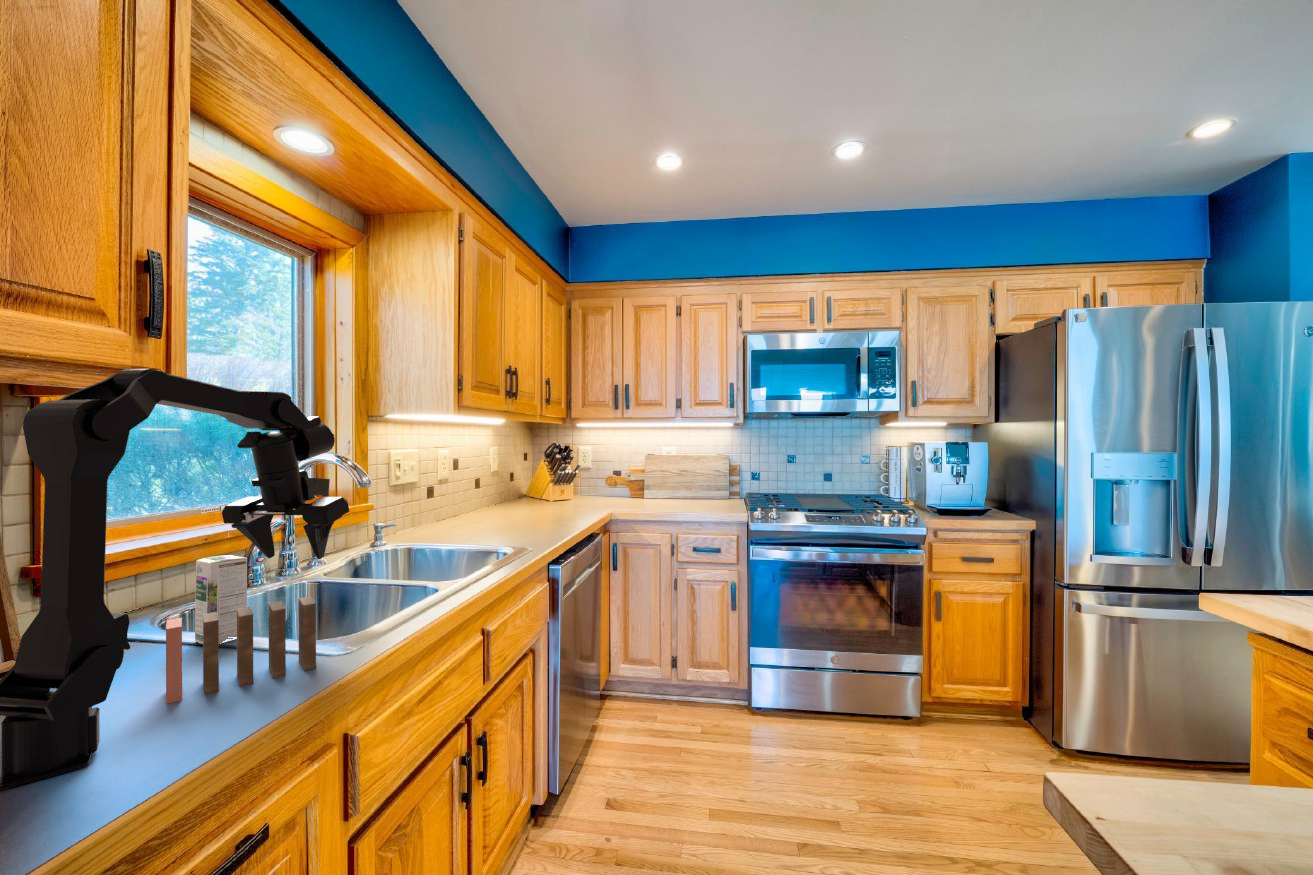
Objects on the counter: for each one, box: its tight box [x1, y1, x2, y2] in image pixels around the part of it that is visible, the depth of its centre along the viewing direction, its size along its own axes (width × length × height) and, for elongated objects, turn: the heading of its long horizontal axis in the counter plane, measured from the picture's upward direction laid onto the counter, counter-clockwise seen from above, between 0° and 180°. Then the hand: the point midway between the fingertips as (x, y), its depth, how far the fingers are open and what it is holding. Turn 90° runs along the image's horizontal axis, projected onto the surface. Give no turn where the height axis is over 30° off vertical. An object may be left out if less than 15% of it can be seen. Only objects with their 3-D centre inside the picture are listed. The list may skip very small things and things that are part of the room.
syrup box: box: [194, 554, 248, 645], centre depth 97 cm, size 6×6×14 cm
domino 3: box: [236, 606, 254, 688], centre depth 80 cm, size 2×5×10 cm, turn 41°
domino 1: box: [165, 617, 183, 705], centre depth 75 cm, size 2×5×10 cm, turn 41°
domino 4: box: [268, 600, 287, 679], centre depth 83 cm, size 2×5×10 cm, turn 41°
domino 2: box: [202, 612, 220, 696], centre depth 78 cm, size 2×5×10 cm, turn 41°
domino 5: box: [297, 596, 317, 672], centre depth 86 cm, size 2×5×10 cm, turn 41°
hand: (296, 557), depth 92 cm, fingers open, 9 cm apart
